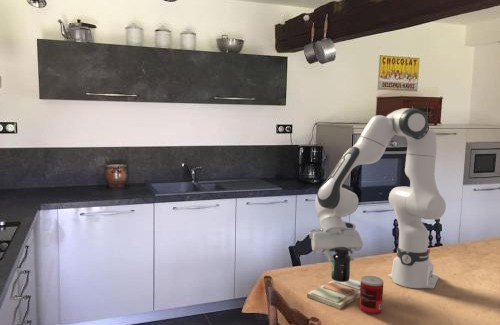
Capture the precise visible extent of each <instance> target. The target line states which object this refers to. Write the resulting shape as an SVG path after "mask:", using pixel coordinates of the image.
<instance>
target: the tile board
mask: <svg viewBox="0 0 500 325" xmlns="http://www.w3.org/2000/svg"><path fill="white" fill-rule="evenodd" d="M360 286H361V281H359V280H356V279H351V278H349V280H348V281H347V282H338V281H335V280H333V279H331V281H329V282H327V283H325V284H323V285H320V286H318V287H317V288H314V289H312V290H310V291H309V292H307V293H306V298H309V299H312V300H314V301H316V302H319V303H322V304H326V305H328V306H330V307H333V308H336V309H338V310H341V309H342V308H344V307H345V306H347V305H348V304H351V303H352V302H353V301H355V300H357V299H360Z"/></svg>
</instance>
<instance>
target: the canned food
mask: <svg viewBox="0 0 500 325" xmlns="http://www.w3.org/2000/svg"><path fill="white" fill-rule="evenodd" d="M360 282H361V286H360V297H359V309H360V311H361V312H363V313H365V314H367V315H379V314H381V312H382V309H383V295H384V294H383V293H384V280H383V279H382V278H381V277H378V276H375V275H364V276H361V278H360Z"/></svg>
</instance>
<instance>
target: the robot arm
mask: <svg viewBox="0 0 500 325" xmlns="http://www.w3.org/2000/svg"><path fill="white" fill-rule="evenodd" d="M395 136H396V137H397V136H398V137H405V139H406V143H407V148H406V156H405V164H404V167H405V168H404V173H405V175H406V177H407V178H408V179H409V181H410V184H411V186H396V187H394V188H392V189H391V191H390V192H389V194H388V195H389V196H388V203H389V205H390V207H391V208H392V209H393V211H394V214H395V216H396V219H397V224H398V232H399V235H398V246H397V249H396V256H395V257H394V258H393V262H392V269H391V272H390V273H388V274H387V275H388V277H389V278H390V279H391V280H392V281H393V282H394V283H395V284H397V285H399V286H401V287H404V288H405V287H406V288H410V289H435V287H436V285H437V283H438V280H439V278H440V277H439V275H438V274H437V273H435V272H434V264H433V262H431V260H430V259H429V258H430V257H429V256H430V255H429V254H430V253H431V248H428V245H429V244H428V243H429V231H428V229H427V227H426V226H425V225H424V223H423V221H422V219H423V220H439V219H441V217H443V215H445V212H446V209H447V204H446V200H445V198H444V197H443V196H442V195H441V194H440V192H439V190H438V187H437V183H436V178H435V174H436V173H435V169H436V161H437V160H436V159H437V148H438V146H437V134H436V132H435V130H434V129H432V128H430V126H429V123H428V118H427V115H426V113H424V112H423V111H422V110H421V109H417V108H410V107H409V108H407V107H405V108H400V109H395V110H394V109H393V110H392V111H390V112H388V113H387V114H386V115H381V114H378V115H377V114H376V115H373V116H372V117H371V118H370V119H369V121H368V122H367V124H366V125H365V126H364V129H363V130H362V132H361V134H360V135H359V137H358V139H357V141H356V142H355V144H354V145H353V146H351V147H349V148H348V149H347V150H346V151H345V152H344V153H343V155H342V156H340V157H341V158H339V161H338V162H337V164H336V165H335V167H334V168H333V170H332V171H331V173H329V176H328V177H327V179H326V180H325V181H324V182H323V183H322V184H321V186H319V189H318V190H317V194H316V196H315V201H314V207H315V212H316V215H317V218H318V220H319V226H320V228H319V229H311V230H310V231H309V232H308V235H309V239H310V240H311V249H312V251H313V252H314V253H323V254H324V256H325V257H326V258H327V260H328V262H329V263H332V262H333V261H334V257H333V255H331V254H330V253H335V248H336V247H346V248H348V254H350V255H349V256H350V259H351V260H350V262H354V260H355V257H354V254H355V252H359V251H360V250H361V249H362V248H363V246H364V243H363V239H362V237H361V235H360V233H359V231H357V230H356V224H355V223H351V222H347V221H346V220H345V221H344V220H342V218H344V217H347V216H350V215H352V214H354V212H356V210H358V207H359V203H360V201H359V200H360V199H359V197H358V194H356V193H355V192H353V191H351V190H349V189H347V188H345V187H343V184H344V183H345V181H346V179H347V178H348V176H349V175H350V173H351V172H352V170H353V169H354V168H356V167H357V166H360V165H371V164H375V163H376V162H378V161H380V160H381V158H382V157H383V155H384V153H385V151H386V150H387V149H386V148H387V147H388V146H389V145H388V144H389V142H390V141H391V140H392V138H393V137H395Z"/></svg>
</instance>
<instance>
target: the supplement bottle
mask: <svg viewBox="0 0 500 325" xmlns="http://www.w3.org/2000/svg"><path fill="white" fill-rule="evenodd" d="M332 256H333V257H334V261H333V262H331V280H335V281H338V282H347V281H348V280H349V279H351V276H350V275H351V261H350V260H351V259H350V255H349V251H348V248H346V247H336V248H335V252H334V254H333V255H332Z"/></svg>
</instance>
